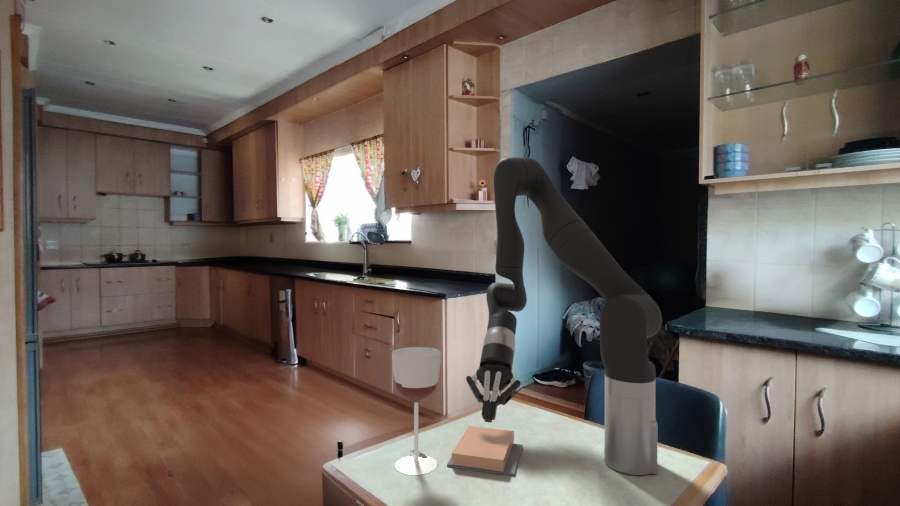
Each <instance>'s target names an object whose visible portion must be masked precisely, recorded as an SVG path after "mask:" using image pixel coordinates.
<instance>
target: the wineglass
mask: <svg viewBox="0 0 900 506" xmlns="http://www.w3.org/2000/svg"><path fill="white" fill-rule="evenodd" d="M441 362H442V351H441V350H440V349H438V348H433V347H426V346H425V347H424V346H413V347H412V346H411V347H410V346H407V347H402V348H397V349H394V350H392V351H391V363H392V365H391V366H392V374H393V379H394V384H395V387H396V390H397V392H398V393H399V394H400V395H401V396H403V397H405V398H407V399H408V400H411V402H413V403H414V404H413V455H414V457H413V456H410V455H406V456H403V457H401V458H400V457H399V459H398V460H396V462H395V463H394V468H395V469H396V471H398V472H399V473H401V474H404V475H410V476H420V475H425V474H426V475H427V474H429V473H431V472H433V471H435V470H436V469H437V466H438V461H437V460H436V459H435V458H433V457H431V456H429V455H426V456H427V458H422V457H418V455H419V402H420V401H423V400H424V399H427V398H428V397H429V396H431V395H432V394H433V393H434V392H435V390H436V389H437V386H438V381H439V376H440V372H441V371H440V369H441Z"/></svg>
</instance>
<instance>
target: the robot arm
mask: <svg viewBox="0 0 900 506" xmlns="http://www.w3.org/2000/svg"><path fill="white" fill-rule="evenodd" d="M493 194H494V207H495V220H496V230H497V231H496V233H497V237H496V238H497V239H496V240H497V241H496V255H495V267H494V268H495V273H496V275H498V276H500V277H502V278H505V279H507V280H510V281H511V282H512V283H504V282H492V283H491V284H489V286H488V287H487V289H486V295H485V296H486V298H485V299H486V303H487V308H488V322H487V326H486V327H487V329H486V333H485V336H484V338H483V344H482V350H481V355H480V359H479V360H480V362H479V367H478V368H477V370H475V371H476V372H475V374H474V375H472V376H471V375H467V376H466V378H465V380H466V384H467V385H468V387H469V388H470V389H469V390H471V392H472V394H473V395H474V398H475V399H476V401H477V402H478V403H479V404H480V403H481V404H482V409H481V417H482V420H483V421H484V423H492V422H493V421H495V420H496V418H497V417H496V416H497V409H498V406H500V405H502V406H505V405H507V404H508V402H509V401H511V400H512V399H513V398H514V397H515V396H516V395H517V394H518V393H519V392H520V391H521V390H522V384H521V381H520V380H519V379H515V378H514V374H513V367H514V366H513V364H514V357H515V352H516V349H515V348H516V330H517V325H518V324H517V322H518V321H517V317H516V315H515V314H514V313H513V312H517V313H518V312H521V311H522V310H524V308H525V307H526V305H527V302H528V301H527V300H528V299H527V292H526V287H525V281H524V275H523V274H524V273H523V272H524V270H523V269H524V258H525V240H524V237H523V233H522V232H521V229H520V226H519V224H518V221H517V217H516V210H515V209H516V201H517V200H516V199H517V197H519V196H520V197H522V196H525V197H527V198H529V200H530V201H531V202H532V203H533V205H534V206H535V207H536V208H537V210H538V211H539V214H540V217H541V226H542V233H543V238H544V240H545V242H546V244H547V245H548V247H549V248H550V250H551V251H552V252H553V253H554V255H555V256H556V257H557V258H558V260H559V261H560V263H562V264H563V265H564V266H565V268H567V269H569V271H572V273H574V274H575V275H576V276H578V277H579V278H581V279H582V280H583V281H585V282H586V283H587V284H589V285H590V286H592V288H593V289H595V290H596V291H597V292H598V293H599V295H600V296H601V298H603V300H604V301H605V302H604V303H603V305H602V307H601V310H600V316H599V343H600V345H599V347H600V358H601V361H602V363H603V366H604V448H603V449H604V450H603V452H604V456H603V457H604V462H605V464H606V465H607V466H608V467H609V468H611V469H612V470H614V471H617V472H620V473H622V474H626V475H631V476H645V475H649V474H653V475H657V474H658V439H659V438H658V436H659V435H658V433H659V432H658V431H659V430H658V429H659V428H658V422H657V419H656V379H657V378H656V375H657V373H656V371H657V370H656V365H655V364H654V363H653V362H652V361H650V359H649V357H648V339H650V338H653V337H654V336H655V335H657V334H658V333H659V331H660V330H661V328H662V324H663V316H662V312H661V309H660V307H659V305H658V304H657V302H656V301H655V300H654V299H653V298H652V297H651V295H649V294H648V293H647V292H646V291H645V290H644V289H643V288H642V287H641V286H640V285H639V284H638V282H636V281H634V280H633V278H631V276H629V275H628V273H626V271H625V270H624V269H623V268H622V267H621V266H620V265H619V263H618V262H617V260H615V258H614V257H613V256H612V255H611V253H610V252H609V251H608V250H607V248H606V247H605V245H604V244H603V243H602V242H601V241H600V240H599V238H598V237H597V236H596V233H594V232H593V231H592V230H591V228H590V227H589V225H588V224H586V223H585V221H584V220H583V219H582V218H581V217H580V215H579V214H577V212H576V211H575V210H574V209H573V207H572V206H571V205H570V203H568V201H567V200H566V199H565V197H564V196H563V195H562V193H561V192H560V191H559V190H558V188H557V187H556V186H555V184H554V182H553V181H552V179H551V177H550V176H549V175H548V173H547V172H546V170H545V168H544V167H543V166H542V164H541V163H540V162H539V161H538V160H537V159H535V158H532V157H527V156H526V157H525V156H524V157H523V156H522V157H521V156H520V157H516V156H515V157H504V158H501V159H500V160H499V161H498V162H497V163H496V165H495V167H494V173H493ZM478 382H479V384H480V386H481V387H482V388H483V394H482V392H481V391H480V389H479V388H478ZM507 387H508V388H507ZM506 388H507V389H506ZM505 389H506V390H505ZM502 391H503V392H502Z"/></svg>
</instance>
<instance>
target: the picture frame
mask: <svg viewBox="0 0 900 506" xmlns="http://www.w3.org/2000/svg"><path fill="white" fill-rule="evenodd" d="M514 442H515V431H514V430H510V429H509V430H507V429H500V428H491V427H482V426H474V425H469V426H468V427H467V429H466V430H465V432H464V433H463V435H462V436H461V438H460V440H459V441H458V443H457V444H456V445H455V448H454V449H453V450H452V452H451V457H452V465H459V466H466V467H473V468H479V469H486V470H493V471H500V472H503V471H504V468H505V466H506V463H507V460H508V457H509V454H510V451H511V448H512V445H513V443H514ZM514 444H515V443H514Z"/></svg>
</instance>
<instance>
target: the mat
mask: <svg viewBox="0 0 900 506" xmlns="http://www.w3.org/2000/svg"><path fill="white" fill-rule="evenodd" d="M523 447H524V444H520V443H513V445H512V448H511V451H510V454H509V457H508V460H507V463H506V466H505V468H504V471H503V472H500V471H493V470H486V469H479V468H473V467H466V466H459V465H452V456H451V457H450V458H449V461H447V464H446V466H447V467H448V468H449V467H450V468H456V469H462V470H463V469H464V470H469V471H470V470H471V471H477V472H484V473H491V474H497V475H505V476H510V477H511V476H513V477H515V474H516V471H517V467H518V463H519V461H520V458H521V454H522V450H523Z"/></svg>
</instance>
